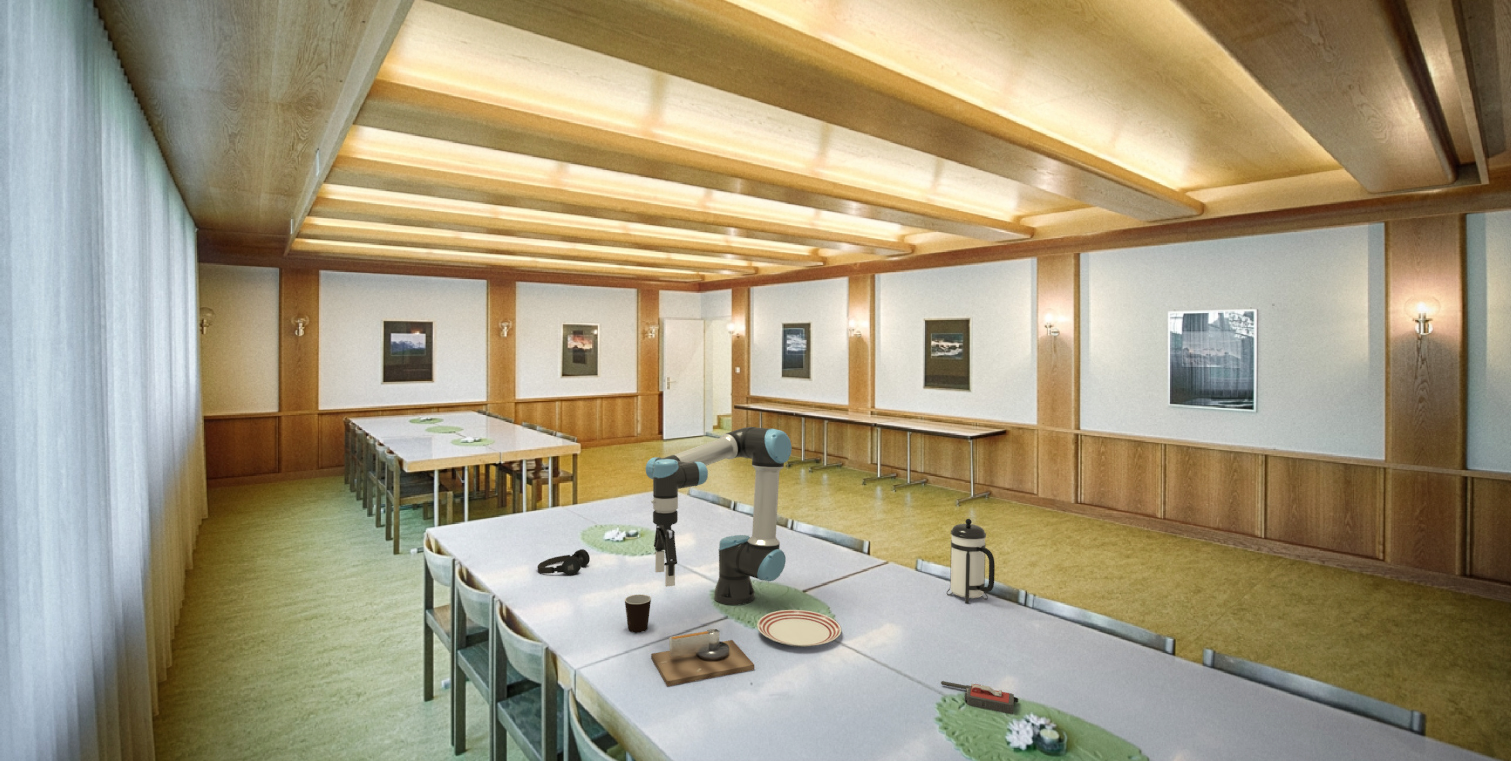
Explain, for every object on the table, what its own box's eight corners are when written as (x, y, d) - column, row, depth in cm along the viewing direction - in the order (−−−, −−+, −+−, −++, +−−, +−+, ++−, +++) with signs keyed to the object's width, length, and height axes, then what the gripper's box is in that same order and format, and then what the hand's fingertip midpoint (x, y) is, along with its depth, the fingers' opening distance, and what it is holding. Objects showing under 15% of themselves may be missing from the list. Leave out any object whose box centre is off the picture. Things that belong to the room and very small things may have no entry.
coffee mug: (645, 635, 214) (645, 605, 214) (620, 632, 216) (620, 602, 215) (657, 621, 225) (657, 592, 225) (634, 619, 227) (634, 590, 227)
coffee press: (944, 601, 246) (945, 522, 244) (948, 587, 260) (950, 512, 259) (993, 608, 239) (995, 526, 238) (995, 594, 254) (997, 517, 253)
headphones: (575, 558, 269) (529, 563, 272) (578, 576, 269) (532, 581, 272) (591, 546, 286) (548, 551, 288) (593, 563, 286) (550, 568, 288)
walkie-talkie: (1018, 700, 176) (941, 685, 184) (1019, 684, 176) (941, 670, 184) (1017, 717, 168) (937, 700, 176) (1018, 700, 168) (937, 684, 176)
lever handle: (722, 643, 204) (722, 622, 204) (734, 657, 195) (734, 635, 195) (665, 653, 197) (666, 631, 197) (675, 667, 188) (675, 645, 188)
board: (732, 644, 208) (732, 639, 208) (754, 669, 191) (754, 664, 191) (651, 658, 198) (651, 653, 198) (667, 686, 181) (667, 680, 181)
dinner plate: (848, 624, 224) (848, 615, 224) (831, 659, 198) (831, 648, 198) (771, 614, 233) (771, 604, 233) (745, 646, 207) (745, 635, 207)
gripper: (644, 502, 213) (644, 567, 214) (662, 520, 190) (662, 593, 191) (667, 501, 216) (667, 565, 216) (687, 518, 193) (687, 590, 193)
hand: (664, 578), depth 204 cm, fingers open, 13 cm apart
